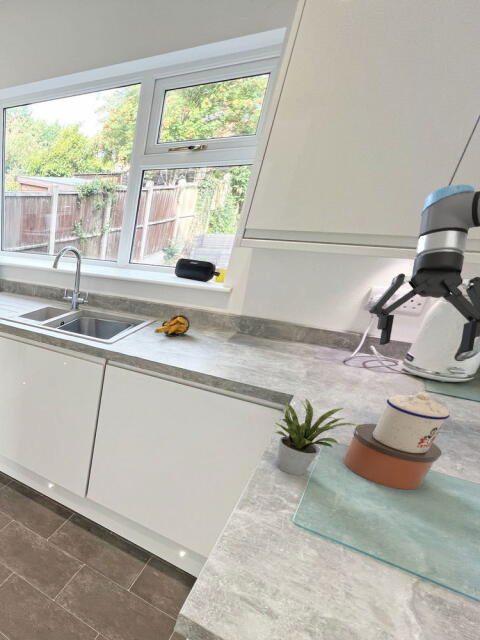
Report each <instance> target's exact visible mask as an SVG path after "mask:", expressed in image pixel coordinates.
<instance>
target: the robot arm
mask: <svg viewBox="0 0 480 640" xmlns="http://www.w3.org/2000/svg"><path fill="white" fill-rule="evenodd" d="M420 216H421V218H420V223H419V224H420V226H419V232H418V238H417V242H416V243H417V244H416V250H415V255H414V256H415V259H414V261H413V265H412V266H413V267H412V274H411V276H409V275H406V274H405V273H399V274H397V275H396V276H394V277H393V278H392V280H391V283H390V286H389V287H388V288H387V289H386V290H385V292H384V293H383V294H382V295H381V296H380V297H379V298H378V300H377V301H376V302H375V303H374V304H372V306H371V307H370V308H369V310H368V312H369V314H374V315H376V317H377V318H378V319H377V326H376V328H377V330H380V331H381V333H380V339H379V345H381V346H385V345H387V344H390V343H391V337H392V331H393V323H394V319H395V314H392V312H394V311H395V310H396V309H399V307H401V306H402V305H404V304H405V303H407V302H408V301H410V300H411V299H413V298H414V297H415V296H417V295H418V296H420V298H429V297H430V298H434V299H440V298H443V299H444V300H445V301H447V302H449V303H450V304H451V305H452V306H453V307H454V308H455V309H456V310H457V311H458V312H459V313H460V314H461V316H463V317H464V318H465V320H466V321H467V322H465V323H464V324H463V328H462V333H461V334H462V335H461V340H460V345H459V346H460V347H459V353H462V354H464V353H469V352H472V351H474V345H475V339H476V338H479V337H480V276H475V277H473V278H463V277H462V275H461V274H462V271H463V266H464V260H465V255H464V254H465V253H466V249H467V248H466V247H467V241H468V234H469V230H470V229H472V228H479V227H480V190H478V191H475V188H474V186H472V185H469V184H463V183H462V184H457V185H453V184H451V185H446V186H442V187H440V188H438V189H435V190H433V191H432V192H430V193H429V194H428V195H427V196H426V198H425V201H424V204H423V209H422V211H421V214H420ZM407 283H408V285H409V286H410V287H411V288H412V289H411V290H409V291H408V292H407V293H405V294H404V295H403V296H401V297H400V298H398V299H397V300H395V301H394V302H392V303H391V304H390V305H388V306H387V307H385V308H383V307H384V306H385V305H386V304H387V303H388V301H389V300H391V298H392V297H393V296H394V294H395V293H396V292H397V291H398V290H399V289H400V288H401V287H402V286H404V285H405V284H407ZM459 286H462V289H464V290H465V292H466V294H467V295H468V298H469V300H470V301H469V300H468V299H467V298H466V297H465V296H464V295H463V291H462V290H461V289H460V288H459Z"/></svg>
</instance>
